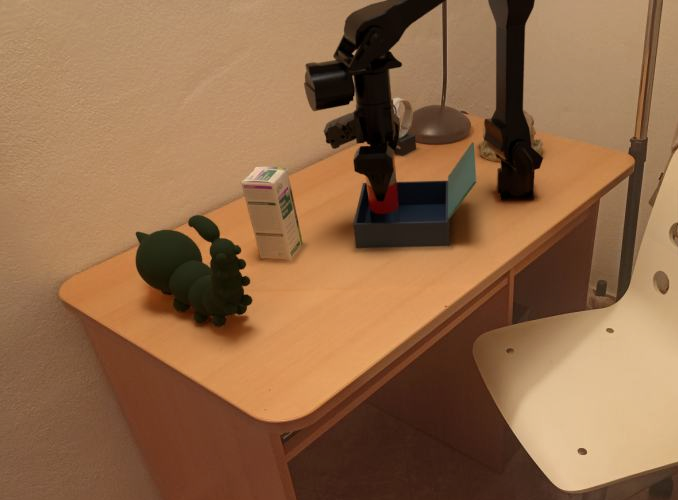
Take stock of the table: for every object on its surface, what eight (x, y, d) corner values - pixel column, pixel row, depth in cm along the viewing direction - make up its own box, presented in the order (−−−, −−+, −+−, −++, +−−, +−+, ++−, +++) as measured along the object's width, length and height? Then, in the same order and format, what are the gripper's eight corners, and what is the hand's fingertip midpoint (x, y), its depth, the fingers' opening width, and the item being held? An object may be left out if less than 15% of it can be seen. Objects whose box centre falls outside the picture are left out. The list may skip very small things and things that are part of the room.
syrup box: (291, 262, 114) (275, 182, 105) (259, 259, 115) (240, 180, 106) (303, 245, 119) (288, 167, 109) (272, 242, 120) (254, 165, 111)
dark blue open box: (449, 204, 129) (448, 180, 125) (449, 248, 116) (448, 222, 113) (365, 207, 129) (362, 182, 126) (356, 250, 117) (353, 224, 113)
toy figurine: (274, 326, 103) (174, 263, 114) (255, 218, 90) (145, 159, 101) (223, 358, 97) (123, 288, 108) (196, 247, 85) (86, 181, 96)
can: (401, 217, 124) (396, 160, 117) (399, 231, 120) (394, 173, 113) (372, 218, 124) (366, 161, 118) (370, 232, 120) (363, 174, 113)
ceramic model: (472, 160, 144) (472, 113, 138) (482, 140, 152) (482, 95, 146) (539, 164, 141) (541, 117, 135) (544, 143, 150) (547, 98, 144)
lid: (447, 176, 125) (449, 177, 125) (447, 217, 112) (449, 219, 113) (472, 142, 121) (473, 143, 121) (474, 181, 108) (476, 182, 108)
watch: (378, 152, 149) (373, 102, 142) (402, 141, 154) (399, 92, 147) (397, 158, 146) (393, 108, 139) (421, 146, 151) (418, 96, 144)
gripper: (331, 81, 116) (343, 167, 126) (314, 122, 101) (329, 215, 111) (396, 79, 115) (403, 166, 125) (388, 119, 101) (397, 213, 111)
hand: (382, 188), depth 118 cm, fingers open, 9 cm apart
